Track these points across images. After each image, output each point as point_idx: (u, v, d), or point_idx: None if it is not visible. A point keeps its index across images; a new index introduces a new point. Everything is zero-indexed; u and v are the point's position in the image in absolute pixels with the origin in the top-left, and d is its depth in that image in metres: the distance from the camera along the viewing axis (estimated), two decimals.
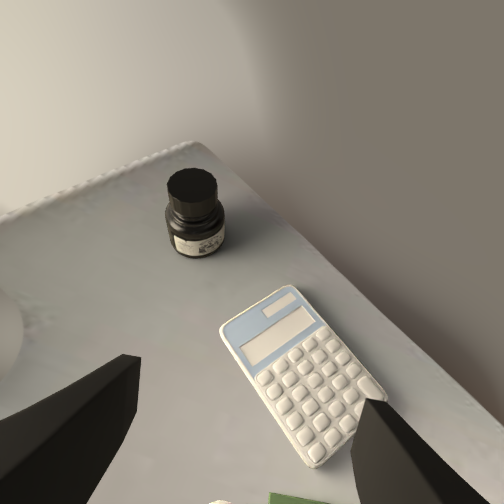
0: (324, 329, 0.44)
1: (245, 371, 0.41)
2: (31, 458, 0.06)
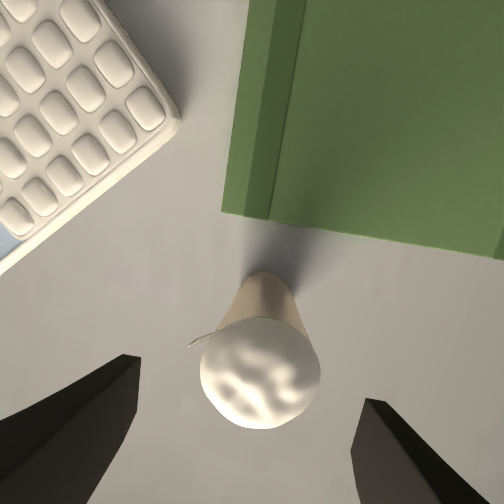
0: None
1: (14, 257, 0.19)
2: (31, 458, 0.06)
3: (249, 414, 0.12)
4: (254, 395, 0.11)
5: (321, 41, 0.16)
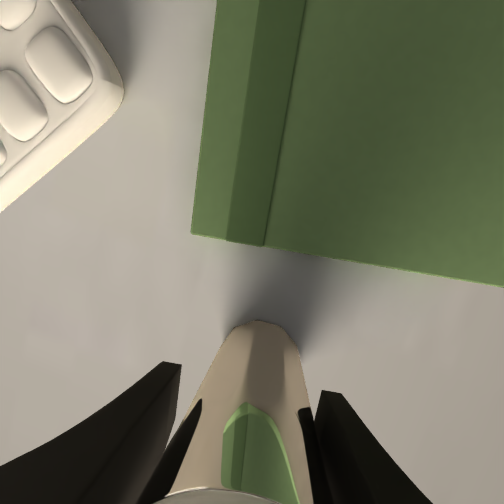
0: None
1: None
2: (103, 472, 0.06)
3: None
4: None
5: None
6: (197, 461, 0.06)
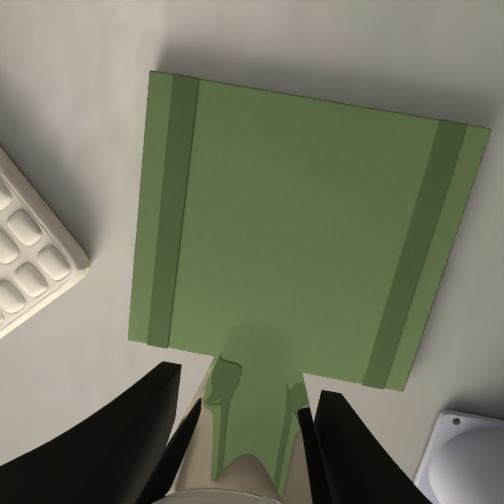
0: None
1: None
2: (103, 472, 0.06)
3: None
4: None
5: (202, 211, 0.18)
6: (196, 461, 0.06)
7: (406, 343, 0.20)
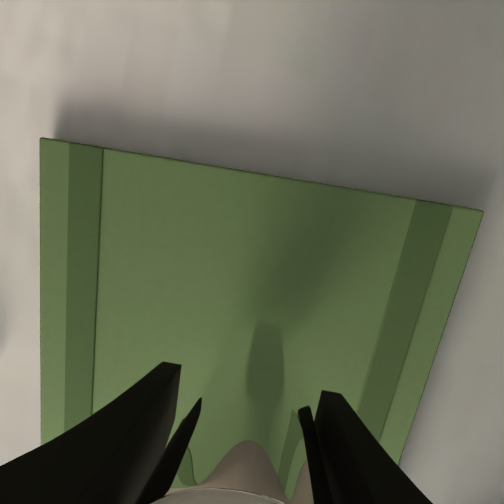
0: None
1: None
2: (103, 472, 0.06)
3: None
4: None
5: (120, 307, 0.15)
6: (197, 460, 0.06)
7: None
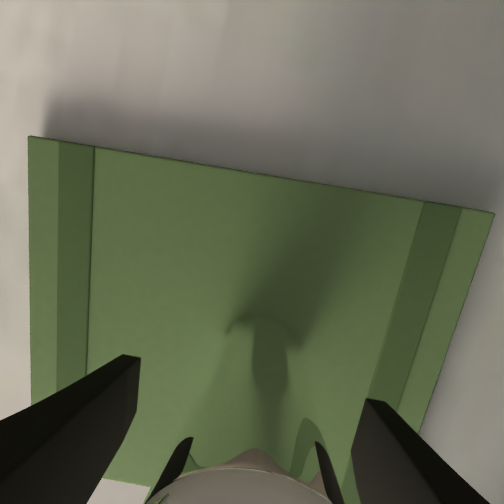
0: None
1: None
2: (31, 458, 0.06)
3: None
4: None
5: (113, 313, 0.14)
6: (211, 444, 0.06)
7: None
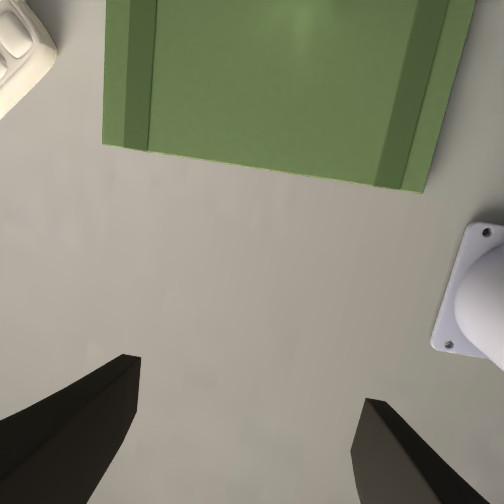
0: None
1: None
2: (31, 458, 0.06)
3: None
4: None
5: None
6: None
7: (426, 126, 0.17)
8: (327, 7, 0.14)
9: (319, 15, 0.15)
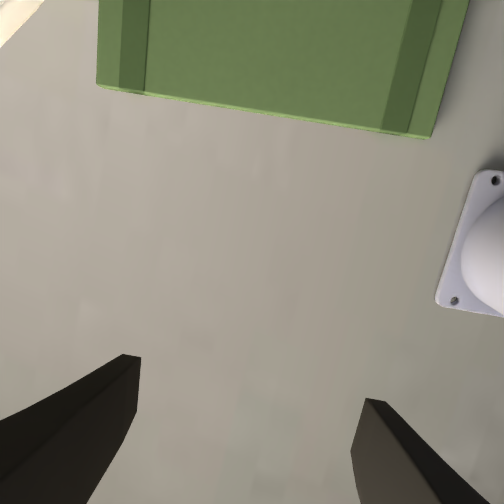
0: None
1: None
2: (31, 458, 0.06)
3: None
4: None
5: None
6: None
7: (435, 64, 0.16)
8: None
9: None
